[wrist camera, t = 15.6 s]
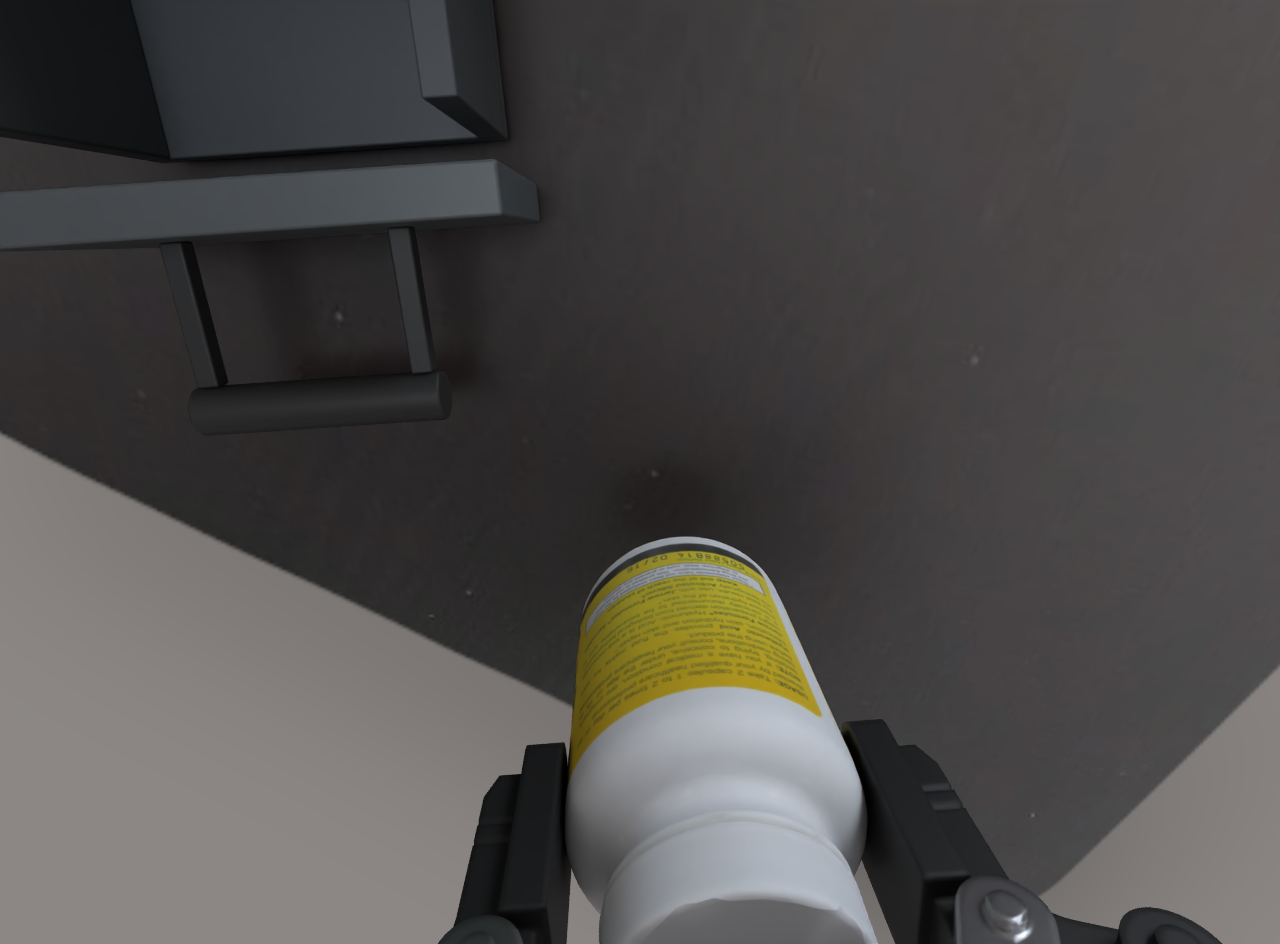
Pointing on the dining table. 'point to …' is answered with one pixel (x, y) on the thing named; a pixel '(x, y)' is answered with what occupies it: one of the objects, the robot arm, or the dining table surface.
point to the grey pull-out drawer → (263, 126)
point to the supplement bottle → (707, 762)
